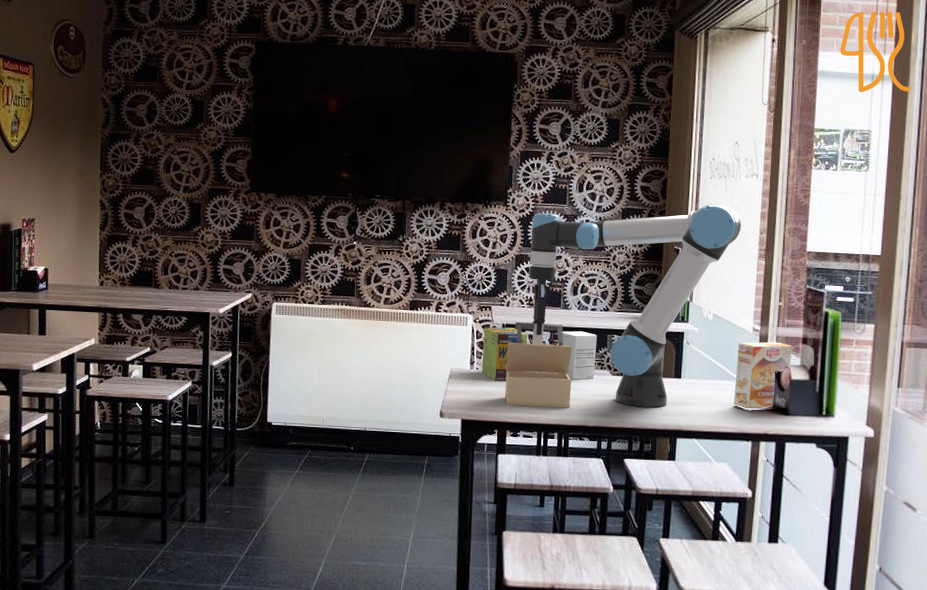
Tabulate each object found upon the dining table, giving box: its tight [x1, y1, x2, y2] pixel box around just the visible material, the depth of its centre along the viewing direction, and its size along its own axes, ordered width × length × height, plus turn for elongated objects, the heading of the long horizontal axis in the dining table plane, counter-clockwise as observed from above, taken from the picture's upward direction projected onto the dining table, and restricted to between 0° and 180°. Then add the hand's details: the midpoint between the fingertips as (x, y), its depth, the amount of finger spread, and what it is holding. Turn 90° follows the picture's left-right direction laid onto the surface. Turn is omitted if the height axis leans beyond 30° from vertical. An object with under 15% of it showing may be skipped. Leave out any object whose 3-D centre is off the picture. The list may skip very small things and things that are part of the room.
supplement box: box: [561, 331, 598, 380], centre depth 332 cm, size 9×9×15 cm
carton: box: [504, 371, 572, 408], centre depth 286 cm, size 18×10×8 cm, turn 90°
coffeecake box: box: [733, 341, 793, 408], centre depth 294 cm, size 15×7×20 cm, turn 115°
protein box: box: [481, 326, 528, 382], centre depth 326 cm, size 10×15×16 cm
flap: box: [506, 321, 572, 374], centre depth 291 cm, size 18×12×9 cm
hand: (537, 344), depth 292 cm, fingers open, 2 cm apart
